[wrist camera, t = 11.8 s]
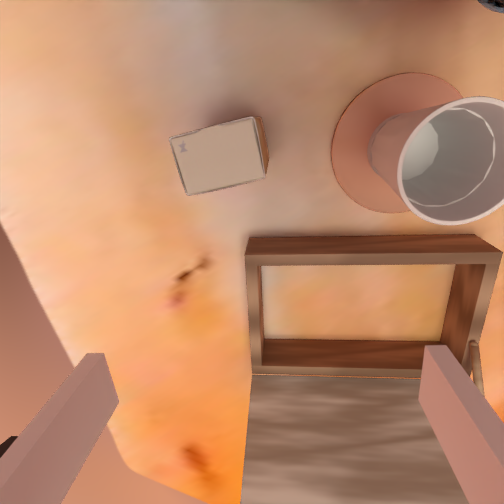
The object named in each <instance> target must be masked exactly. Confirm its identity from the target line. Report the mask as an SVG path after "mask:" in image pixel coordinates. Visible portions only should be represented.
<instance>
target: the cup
mask: <svg viewBox="0 0 504 504" xmlns="http://www.w3.org/2000/svg"><path fill="white" fill-rule="evenodd" d="M367 156H368V161H369V164H370V166H371V168H372V169H373V171H374V172H375V173H376V174H377V175H379V176H380V177H381V178H382V179H383V180H384V181H385V182H386V183H387V184H388V185H389V186H390V187H391V188H392V189H393V191H394V192H395V193H396V194H397V195H398V196H399V197H400V199H401V200H402V201H403V202H404V203H405V205H406V206H407V207H408V208H409V209H410V210H411V211H412V212H413V213H414V214H415V215H417V216H418V217H420V218H422V219H424V220H426V221H428V222H431V223H434V224H439V225H460V224H466V223H470V222H473V221H476V220H478V219H481V218H483V217H485V216H487V215H489V214H491V213H492V212H494V211H495V210H497V209H498V208H499V207H501V206H502V205H503V204H504V101H501V100H499V99H495V98H491V97H481V96H477V97H467V98H462V99H459V100H455V101H451V102H448V103H444V104H441V105H437V106H433V107H429V108H425V109H421V110H416V111H412V112H408V113H400V114H396V115H393V116H391V117H389V118H387V119H386V120H384V121H383V122H382V123H381V124H380V125H379V126H378V127H377V128H376V129H375V130H374V132H373V134H372V135H371V137H370V140H369V143H368V148H367Z"/></svg>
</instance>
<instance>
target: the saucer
mask: <svg viewBox="0 0 504 504" xmlns="http://www.w3.org/2000/svg"><path fill="white" fill-rule="evenodd" d="M462 98H463V97H462V96H461V94H460V93H459V92H458V91H457V90H456V89H455V88H454V87H453V86H452V85H450V84H449V83H447V82H446V81H444V80H442V79H440V78H438V77H435V76H432V75H429V74H422V73H406V74H399V75H396V76H392V77H389V78H386V79H384V80H381V81H379V82H377V83H375V84H373V85H372V86H370V87H368V88H367V89H366V90H364V91H363V92H362V93H361V94H359V95H358V96H357V97H356V98H355V99H354V100H353V101H352V103H351V104H350V105H349V106H348V107H347V109H346V110H345V112H344V113H343V115H342V117H341V119H340V121H339V123H338V125H337V128H336V130H335V133H334V137H333V142H332V164H333V169H334V172H335V176H336V178H337V180H338V182H339V184H340V185H341V187H342V188H343V190H344V191H345V192H346V193H347V194H348V196H349V197H350V198H352V199H353V200H354V201H355V202H357V203H358V204H360V205H361V206H363V207H365V208H367V209H370V210H373V211H377V212H383V213H401V212H406V211H411V210H410V209H409V208H408V207H407V206H406V205H405V203H404V202H403V201H402V200H401V199H400V197H399V196H398V195H397V194H396V193H395V192H394V191H393V189H392V188H391V187H390V186H389V185H388V184H387V183H386V182H385V181H384V180H383V179H382V178H381V177H380V176H379V175H377V174H376V173H375V172H374V171H373V169H372V168H371V166H370V164H369V161H368V156H367V148H368V143H369V140H370V137H371V135H372V134H373V132H374V130H375V129H376V128H377V127H378V126H379V125H380V124H381V123H382V122H383V121H384V120H386V119H387V118H389V117H391V116H393V115H396V114H400V113H408V112H412V111H416V110H421V109H425V108H429V107H433V106H437V105H441V104H444V103H448V102H451V101H455V100H459V99H462Z"/></svg>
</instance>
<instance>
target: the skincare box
mask: <svg viewBox="0 0 504 504" xmlns="http://www.w3.org/2000/svg"><path fill="white" fill-rule="evenodd" d="M169 142H170V145H171V148H172V152H173V155H174V159H175V162H176V165H177V169H178V172H179V175H180V178H181V181H182V184H183V187H184V190H185V193H186V195H188V196H190V195H197V194H203V193H208V192H213V191H217V190H221V189H226V188H230V187H234V186H238V185H242V184H246V183H250V182H254V181H257V180H261V179H264V178H266V172H267V167H268V161H269V154H268V148H267V143H266V137H265V132H264V127H263V123H262V119H261V117H254V116H250V117H246V118H241V119H237V120H233V121H229V122H225V123H222V124H218V125H214V126H210V127H206V128H203V129H199V130H195V131H191V132H187V133H184V134H180V135H176V136H172V137H170V138H169Z"/></svg>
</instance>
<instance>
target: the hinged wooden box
mask: <svg viewBox="0 0 504 504" xmlns="http://www.w3.org/2000/svg"><path fill="white" fill-rule="evenodd" d="M502 254H503V252H502V251H500V250H499V249H497V248H495V247H494V246H492V245H491V244H489V243H487V242H486V241H484V240H483V239H481V238H480V237H478V236H476V235H475V234H459V235H398V236H336V237H274V238H249V241H248V245H247V248H246V252H245V269H246V285H247V300H248V316H249V332H250V348H251V363H252V374H289V375H327V376H366V377H404V378H421V374H422V366H423V358H424V350H425V346H426V345H446V346H447V347H448V348H449V350H450V351H451V352H452V354H453V355H454V357H455V358H456V359H457V361H458V362H459V363H460V365H461V366H462V367H463V369H464V370H465V372H466V373H467V374H468V376H469V377H470V374H471V371H472V372H473V381H474V384H475V385H476V386H477V388H478V389H479V391H480V392H481V393H482V395H483V396H484V387H483V378H482V370H481V361H480V352H479V345H478V344H479V341H480V337H481V333H482V329H483V325H484V322H485V318H486V314H487V310H488V307H489V303H490V299H491V295H492V292H493V288H494V284H495V280H496V277H497V273H498V269H499V265H500V261H501V258H502ZM413 264H456V268H455V273H454V278H453V282H452V287H451V292H450V297H449V302H448V306H447V311H446V316H445V321H444V325H443V330H442V335H441V340H440V342H427V341H361V340H295V339H264V325H263V302H262V279H261V266H280V265H413ZM420 382H421V379H395V378H357V377H319V376H281V375H252V382H251V393H250V404H249V415H248V425H247V436H246V447H245V458H244V469H243V480H242V491H241V502H240V504H469V502H468V500H467V498H466V496H465V494H464V492H463V490H462V488H461V486H460V484H459V482H458V480H457V478H456V476H455V474H454V472H453V470H452V467H451V465H450V463H449V461H448V459H447V457H446V455H445V453H444V451H443V449H442V447H441V445H440V443H439V441H438V439H437V437H436V435H435V433H434V431H433V429H432V427H431V425H430V423H429V421H428V419H427V417H426V415H425V413H424V410H423V408H422V406H421V404H420V402H419V400H418V398H419V390H420ZM484 397H485V396H484Z"/></svg>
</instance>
